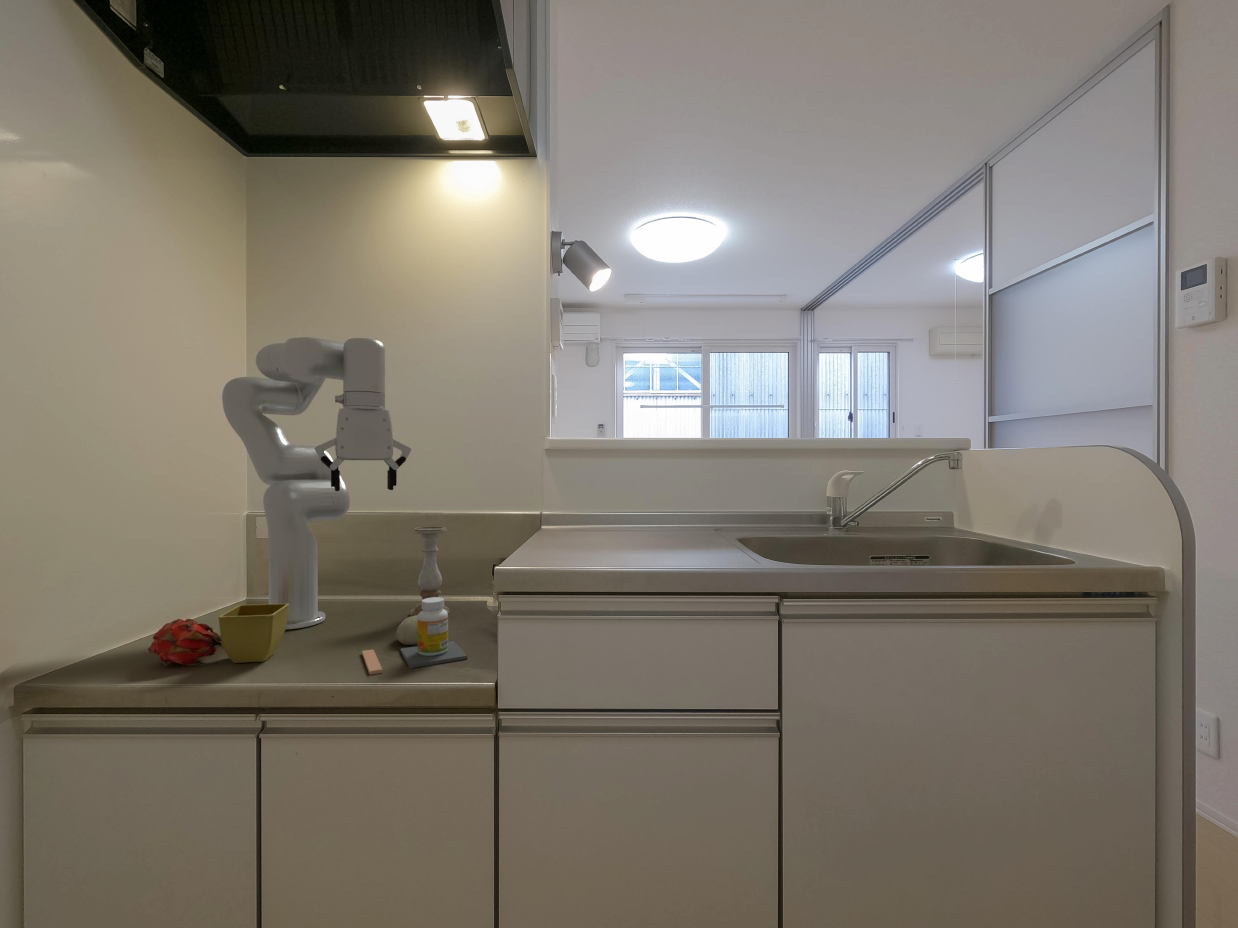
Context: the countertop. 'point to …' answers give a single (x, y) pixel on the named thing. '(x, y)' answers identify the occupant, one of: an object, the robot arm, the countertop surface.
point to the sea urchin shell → (408, 631)
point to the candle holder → (429, 565)
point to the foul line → (371, 662)
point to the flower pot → (253, 631)
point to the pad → (419, 660)
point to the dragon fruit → (184, 642)
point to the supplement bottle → (432, 627)
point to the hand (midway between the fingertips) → (364, 490)
